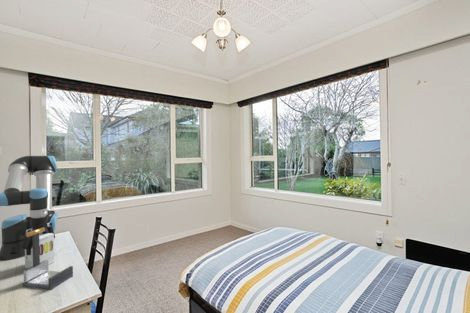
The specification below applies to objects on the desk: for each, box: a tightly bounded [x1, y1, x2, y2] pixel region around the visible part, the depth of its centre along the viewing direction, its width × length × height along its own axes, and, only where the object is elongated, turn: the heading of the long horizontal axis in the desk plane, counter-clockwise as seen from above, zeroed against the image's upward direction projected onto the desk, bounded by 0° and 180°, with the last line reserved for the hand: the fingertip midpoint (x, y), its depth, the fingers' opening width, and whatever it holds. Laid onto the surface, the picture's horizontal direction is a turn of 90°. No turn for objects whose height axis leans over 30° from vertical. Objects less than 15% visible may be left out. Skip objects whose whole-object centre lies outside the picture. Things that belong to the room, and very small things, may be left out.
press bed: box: [21, 265, 74, 291], centre depth 117 cm, size 12×16×5 cm
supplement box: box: [24, 233, 55, 269], centre depth 133 cm, size 10×9×17 cm
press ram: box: [23, 227, 49, 282], centre depth 118 cm, size 11×2×23 cm, turn 171°
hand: (39, 256), depth 133 cm, fingers closed on supplement box, 10 cm apart
